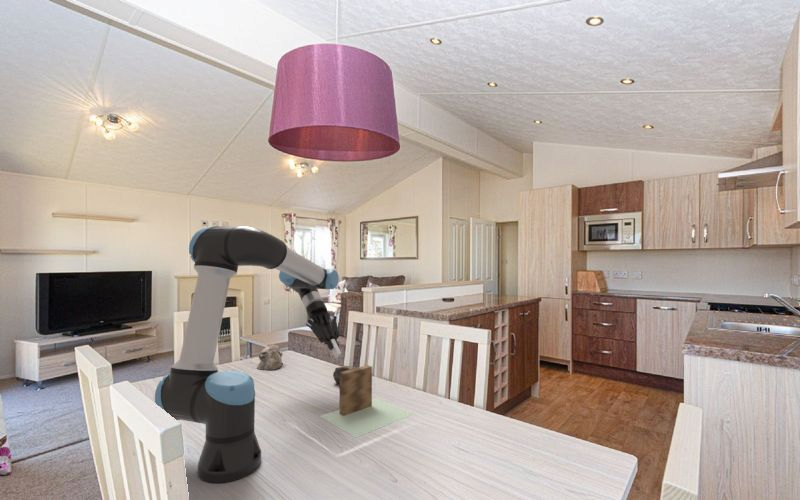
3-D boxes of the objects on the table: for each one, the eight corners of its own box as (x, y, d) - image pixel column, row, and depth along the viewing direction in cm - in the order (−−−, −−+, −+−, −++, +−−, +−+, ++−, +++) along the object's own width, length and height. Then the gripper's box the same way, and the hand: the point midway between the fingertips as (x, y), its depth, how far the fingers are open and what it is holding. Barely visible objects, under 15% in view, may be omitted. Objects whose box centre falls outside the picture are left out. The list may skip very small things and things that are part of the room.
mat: (355, 440, 114) (355, 437, 114) (319, 418, 129) (319, 416, 129) (412, 416, 130) (412, 414, 130) (375, 399, 145) (375, 397, 145)
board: (343, 415, 129) (343, 374, 129) (339, 413, 131) (339, 372, 131) (371, 406, 137) (371, 366, 137) (367, 404, 139) (367, 365, 139)
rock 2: (359, 393, 155) (372, 385, 164) (361, 372, 154) (374, 365, 163) (330, 384, 161) (344, 377, 170) (331, 364, 161) (345, 358, 170)
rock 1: (286, 368, 183) (286, 347, 183) (260, 373, 176) (260, 351, 176) (278, 361, 196) (278, 341, 196) (253, 364, 189) (253, 344, 189)
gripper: (325, 309, 160) (348, 358, 148) (296, 313, 152) (318, 365, 139) (332, 298, 157) (356, 346, 144) (303, 301, 148) (326, 353, 136)
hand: (338, 355), depth 142 cm, fingers closed
